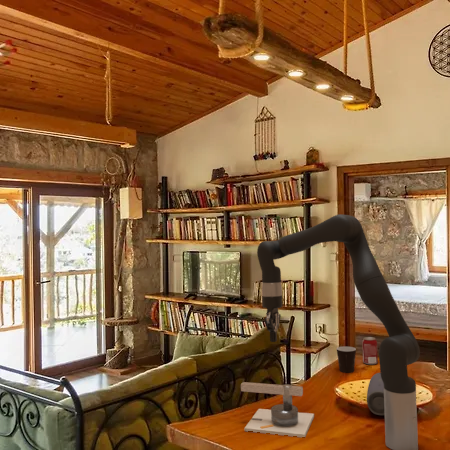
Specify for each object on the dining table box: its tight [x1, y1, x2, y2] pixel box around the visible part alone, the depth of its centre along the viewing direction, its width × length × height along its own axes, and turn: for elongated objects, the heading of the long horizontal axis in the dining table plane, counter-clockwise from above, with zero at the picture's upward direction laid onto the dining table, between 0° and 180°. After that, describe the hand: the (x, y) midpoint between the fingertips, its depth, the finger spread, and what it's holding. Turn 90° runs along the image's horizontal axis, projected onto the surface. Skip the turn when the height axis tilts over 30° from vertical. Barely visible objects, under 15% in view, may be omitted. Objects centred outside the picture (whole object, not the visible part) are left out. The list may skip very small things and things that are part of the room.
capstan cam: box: [240, 381, 304, 426], centre depth 172 cm, size 21×9×12 cm, turn 71°
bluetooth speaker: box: [366, 372, 385, 416], centre depth 185 cm, size 23×9×10 cm, turn 161°
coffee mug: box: [336, 346, 357, 374], centre depth 229 cm, size 12×9×10 cm
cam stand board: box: [244, 408, 315, 438], centre depth 172 cm, size 20×18×1 cm
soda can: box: [361, 336, 379, 366], centre depth 241 cm, size 7×7×12 cm
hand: (273, 341), depth 187 cm, fingers closed
